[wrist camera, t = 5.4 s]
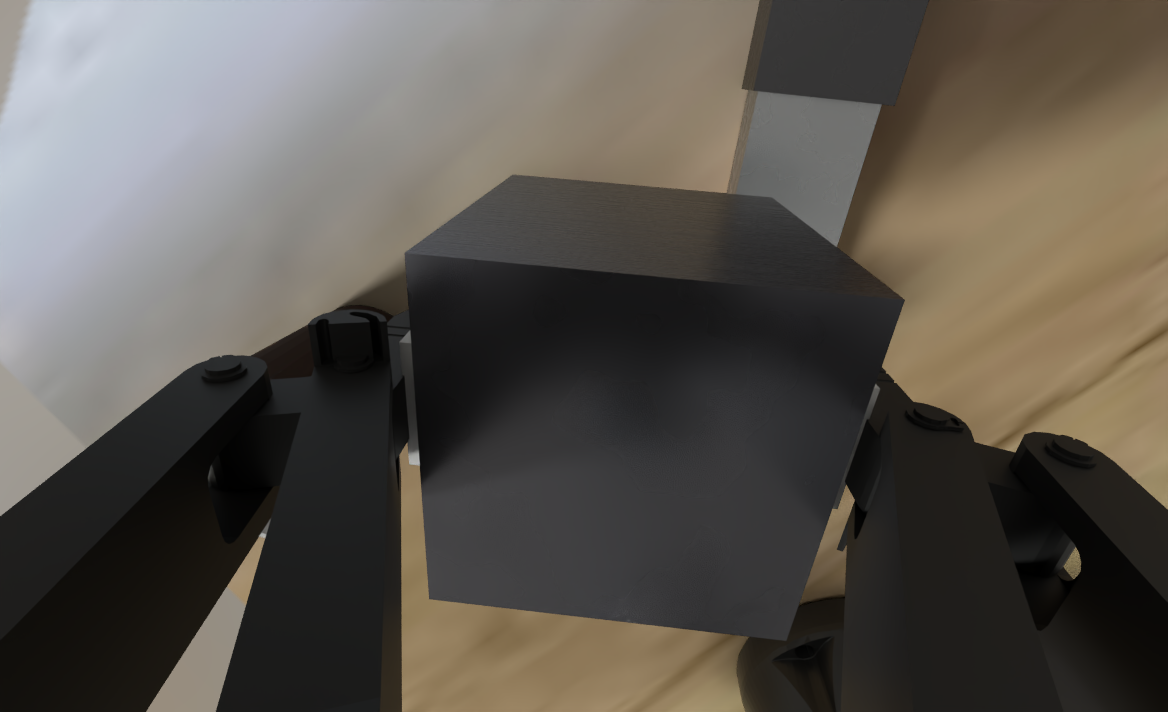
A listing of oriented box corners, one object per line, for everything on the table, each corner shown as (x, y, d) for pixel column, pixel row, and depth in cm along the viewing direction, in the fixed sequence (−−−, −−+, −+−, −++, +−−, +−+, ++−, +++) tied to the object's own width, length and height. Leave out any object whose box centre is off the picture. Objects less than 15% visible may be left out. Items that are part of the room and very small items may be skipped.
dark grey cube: (724, 418, 18) (786, 641, 11) (509, 396, 18) (429, 599, 11) (772, 197, 15) (905, 299, 8) (512, 174, 15) (404, 253, 8)
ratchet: (786, 387, 31) (816, 446, 26) (679, 374, 31) (689, 431, 26) (937, -101, 21) (1031, -152, 16) (778, -116, 21) (823, -172, 16)
